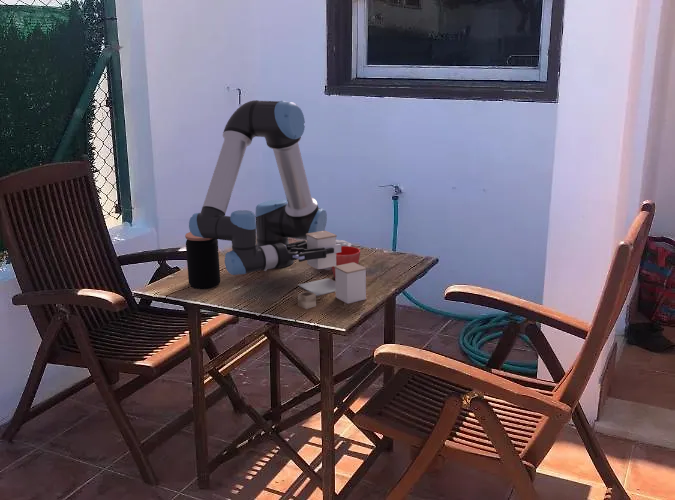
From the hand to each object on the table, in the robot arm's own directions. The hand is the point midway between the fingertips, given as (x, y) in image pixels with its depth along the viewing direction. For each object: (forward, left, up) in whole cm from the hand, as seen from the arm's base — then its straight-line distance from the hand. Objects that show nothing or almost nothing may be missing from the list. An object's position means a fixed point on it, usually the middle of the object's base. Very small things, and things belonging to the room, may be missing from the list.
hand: (334, 245), depth 243 cm
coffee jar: (-25, -37, -14) cm, 47 cm away
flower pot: (-5, +7, -14) cm, 17 cm away
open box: (+12, -18, -14) cm, 25 cm away
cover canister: (0, -5, -6) cm, 8 cm away
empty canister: (+14, -3, -14) cm, 20 cm away
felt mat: (0, -5, -14) cm, 15 cm away
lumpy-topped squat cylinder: (-19, +12, -14) cm, 26 cm away
